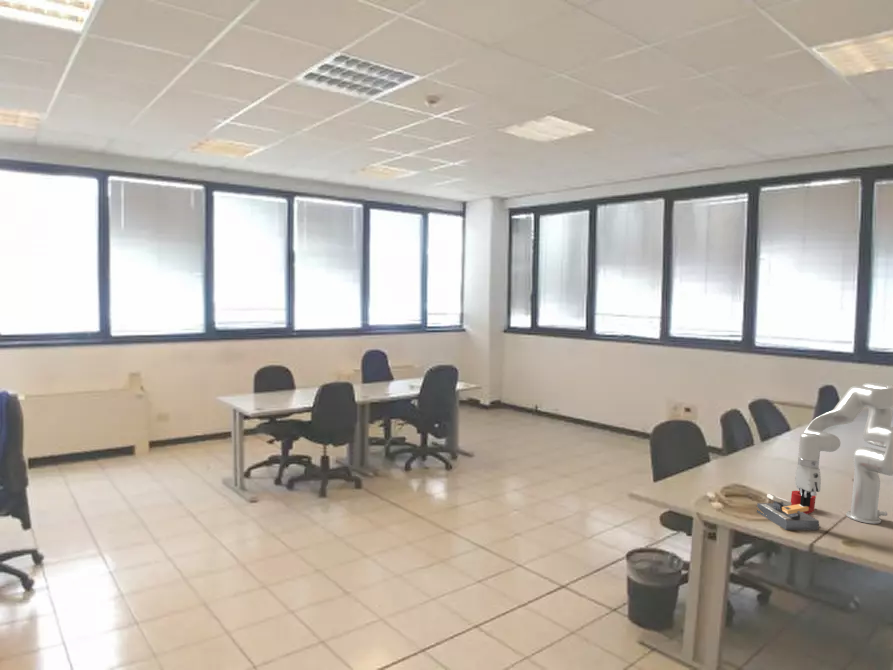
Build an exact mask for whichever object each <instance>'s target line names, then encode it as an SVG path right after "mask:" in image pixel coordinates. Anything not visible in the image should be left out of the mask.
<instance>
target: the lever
mask: <svg viewBox="0 0 893 670" xmlns="http://www.w3.org/2000/svg"><path fill="white" fill-rule="evenodd" d="M816 498H817V495H816V496H812V497H811V500H810V506H808V508H809V511H804V513H806V514H807V515H809V514H811V513H813V512H815V505H816ZM790 502H791V505H796V504H800V502H801V495H800V490H792V491H791V496H790Z"/></svg>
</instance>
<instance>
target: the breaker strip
mask: <svg viewBox="0 0 893 670" xmlns="http://www.w3.org/2000/svg"><path fill="white" fill-rule="evenodd" d="M785 506H788V505H785V504H781V503H779V502H777V501H774V500H773V503H770V502H768V503H766V502H765V503H764V502H757V506H756V508H757V507H758V508H759V509H760V510H761V511H762V512H763V513H764V514H763V513H761V512H760V511H758V510H757V509H756V513H757V514H759V515H761V516H762V517H764V518H766V519H767V520H768V521H771V522H772V523H774V524H776V525H777V526H779V527H780V528H782V529H784V530H785V531H819V526H818V524H819V525H820V520H818V519H817V518H815V517H813V516H811V515H809V514H806V513H804V512H800V513H793V514H787V513H785V512H784V511H782V507H785ZM766 515H767V516H766Z"/></svg>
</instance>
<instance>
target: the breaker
mask: <svg viewBox="0 0 893 670" xmlns="http://www.w3.org/2000/svg"><path fill="white" fill-rule="evenodd" d="M766 498H767V499H770V500H772V501H773V502H774V501H777V502H779V503H781V504H785V505H788V506H791V501H789V500H787V499H785V498H781V497H779V496H776V495H774V494H770V493H767V495H766Z"/></svg>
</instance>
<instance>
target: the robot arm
mask: <svg viewBox="0 0 893 670" xmlns="http://www.w3.org/2000/svg"><path fill="white" fill-rule="evenodd" d="M865 408H867V409H868V414H867V419H866V422H865V426H864V429H863V434H862V439H863V441H864V442H865V443H866V444H869V445H872V446H876V447H879V448H883V449H885V450H881V449H878V448H873V447H868V446H859V447H857V448H856V449H855V450H854V452H853V454H852V460H853V461H852V462H853V470H854V472H853V484H852V496H851V505H850V506H851V507H850V510H848V511H847V512H845V515H846V517H848V519H851V520H853V521H856V522H861V523H865V524H871V525H872V524H874V525H877V524H880V523H882V519H881V517H886V516H888V512H887V511H885V510H883V511H882V510H880V509H879V500H880V489H881V477H880V475H879V474H881V475H884V476H888V477H891V476H892V477H893V426H892V425H891V424H892V420H893V411H892V408H893V385H892V384H885V383H879V382H873V381H871V382H865V383H863V384H862V385H853V386H851V387H849V388H848V389H847V390H846V392H845V393H844V394H843V396H841V398H840V400H839V401H838V402H837V404H836V405H835V406H834V408H833V409H832V410H830V411H827V412H824V413H823V414H820V415H819V416H817V417H815V418H814V419H812V420H811V421H810V423H808V425H807V427H806V428H805V429H804V431H803V432H802V433H800V435H799V442H798V443H799V445H798V456H797V457H798V458H797V465H796V469H795V476H794V485H795V487H796V489H798V491H800V495H801V502H800V505H802V506H810V500H811V497H812V496H816V497H817V495H818V494H817V493H820V492H821V482H822V481H821V480H822V479H821V477H822V476H821V470H820V455H821V453H820V452H826V453H827V452H829V453H832V452H835V451H838V449H839V448H840V447H841V439H840V438H839V436H837V435H835V434H833V433H830V432H829V433H828V432H825V431H824V430H826V429H828V428H830V427H834V426H835V427H836V426H841V425H843V426H844V425H849V424H851V423H853V422H855V420H856V418H857V417H858V415H860V413H861V411H862V410H863V409H865Z"/></svg>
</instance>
